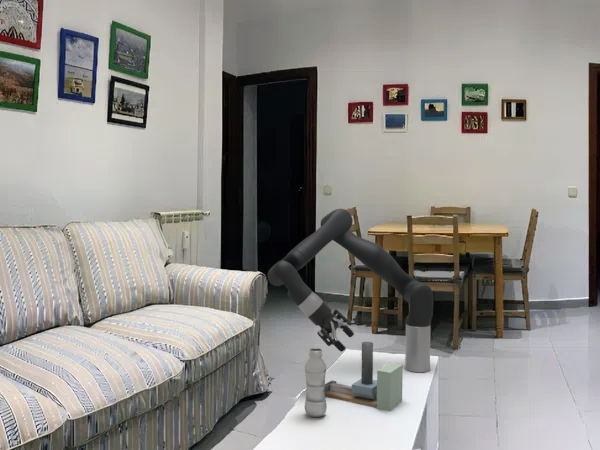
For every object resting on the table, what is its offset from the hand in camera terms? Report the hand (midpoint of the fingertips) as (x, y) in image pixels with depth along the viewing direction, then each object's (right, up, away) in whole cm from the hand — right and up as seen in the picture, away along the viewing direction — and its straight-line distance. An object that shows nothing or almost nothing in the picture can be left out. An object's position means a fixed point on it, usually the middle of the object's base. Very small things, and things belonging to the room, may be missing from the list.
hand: (348, 342), depth 188 cm
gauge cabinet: (+12, -17, -11) cm, 24 cm away
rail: (+2, -17, -5) cm, 18 cm away
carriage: (+5, -15, -7) cm, 18 cm away
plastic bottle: (-12, -18, -20) cm, 29 cm away
